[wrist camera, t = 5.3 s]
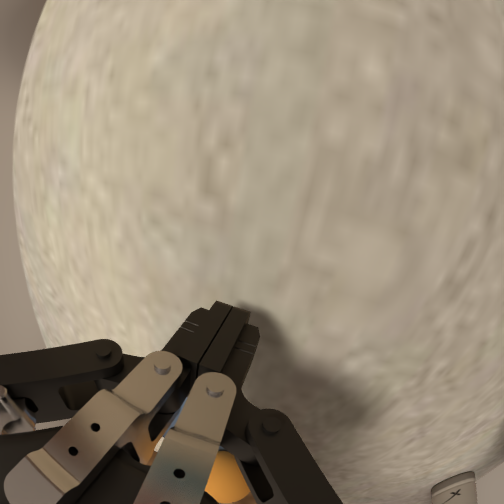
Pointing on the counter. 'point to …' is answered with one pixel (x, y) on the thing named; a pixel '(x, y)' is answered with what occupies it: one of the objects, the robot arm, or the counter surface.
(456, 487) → the travel mug
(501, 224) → the counter surface
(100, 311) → the counter surface
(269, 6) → the counter surface
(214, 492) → the ball
